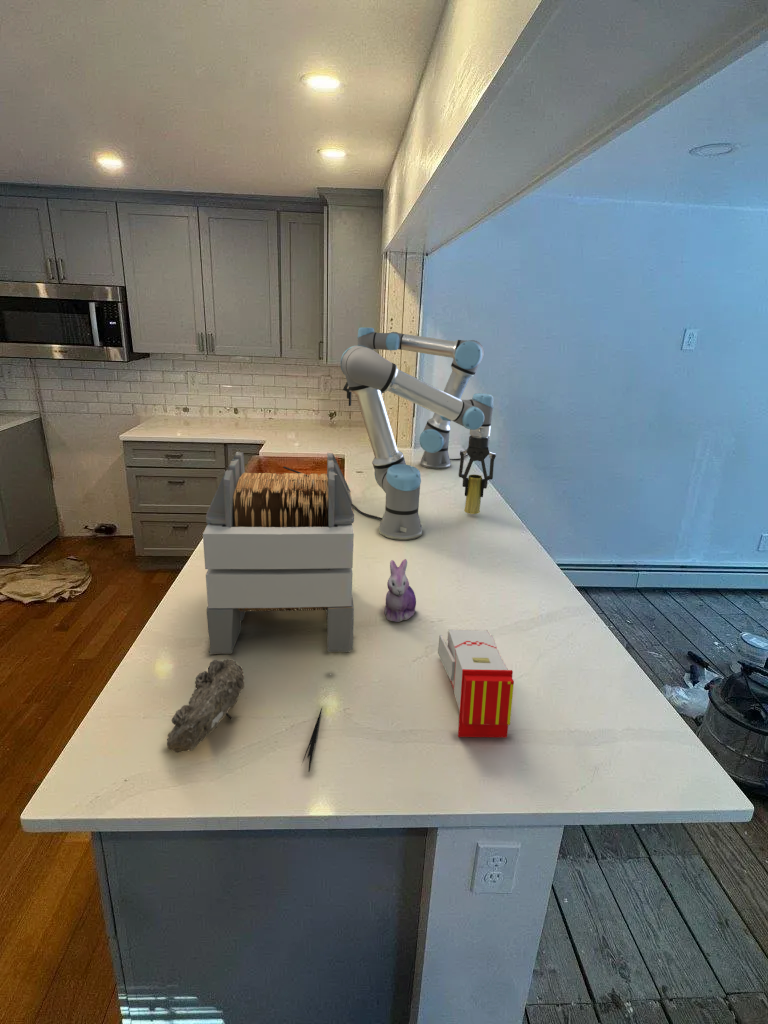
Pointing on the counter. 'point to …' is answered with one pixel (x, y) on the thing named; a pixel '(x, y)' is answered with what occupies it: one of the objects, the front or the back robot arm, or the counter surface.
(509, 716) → the toy
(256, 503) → the record storage crate
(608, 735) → the counter surface
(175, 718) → the fossil
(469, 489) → the olive drinking cup
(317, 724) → the feather
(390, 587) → the figurine
